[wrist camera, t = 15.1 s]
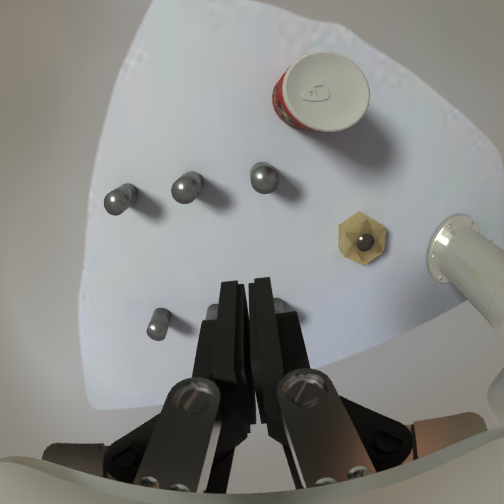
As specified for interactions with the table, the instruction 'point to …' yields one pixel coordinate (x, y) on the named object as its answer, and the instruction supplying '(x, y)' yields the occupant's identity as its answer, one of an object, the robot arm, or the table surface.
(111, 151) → the table surface
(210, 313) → the posts
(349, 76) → the canned food
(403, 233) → the table surface
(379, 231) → the brass nut
